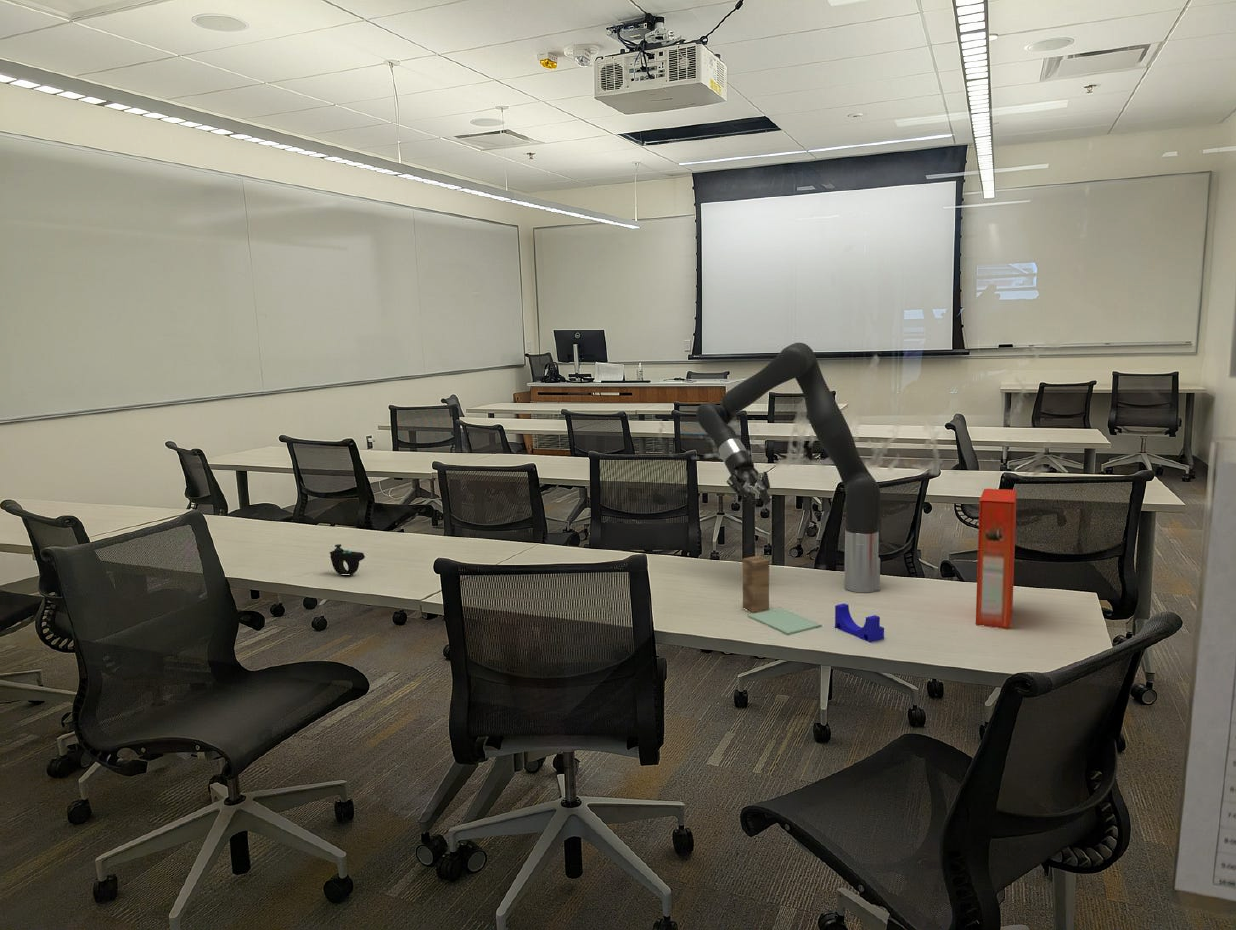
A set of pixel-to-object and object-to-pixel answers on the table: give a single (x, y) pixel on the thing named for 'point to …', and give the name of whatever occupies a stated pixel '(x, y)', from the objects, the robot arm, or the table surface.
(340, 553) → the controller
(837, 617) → the blue cradle block
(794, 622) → the sage mat
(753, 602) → the walnut block
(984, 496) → the file binder
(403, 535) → the table surface
